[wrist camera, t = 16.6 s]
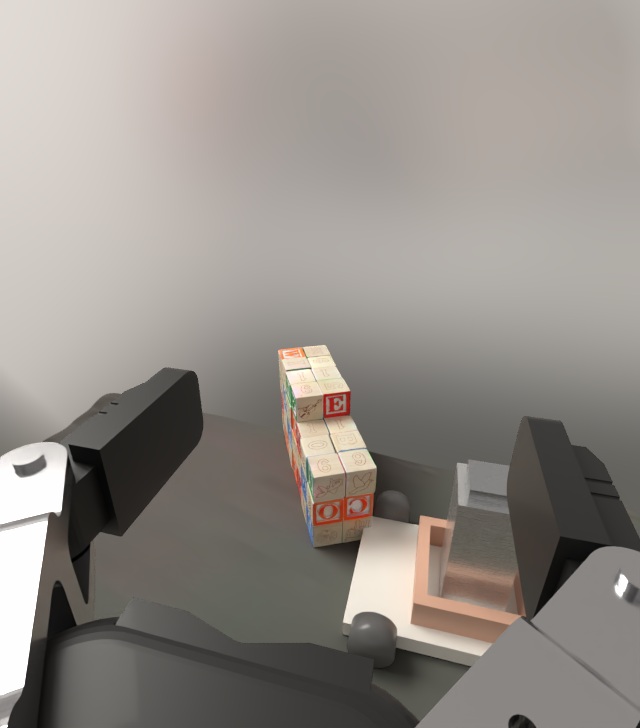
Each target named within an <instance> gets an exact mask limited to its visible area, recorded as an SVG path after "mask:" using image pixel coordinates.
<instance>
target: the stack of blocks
mask: <svg viewBox="0 0 640 728" xmlns="http://www.w3.org/2000/svg"><path fill="white" fill-rule="evenodd" d="M278 355H279V368H280V388H281V393H282V394H281V395H282V409H283V410H282V420H283V429H284V433H285V439H286V444H287V448H288V453H289V457H290V461H291V465H292V469H294V474H295V478H296V482H297V485H298V487H299V492H300V496H301V501H302V508H303V512H304V516H305V520H306V524H307V527H308V531H309V535H310V539H311V542H312V546H313V548H315V547H321V546H326V545H332V544H338V543H345V542H351V541H356V540H361V538H362V534H363V529H364V528H368V527H371V521H372V514H373V500H374V492H375V488H376V474H377V467H376V465H375V463H374V461H373V459H372V457H371V455H370V453H369V452H368V450H367V447H366V445H365V443H364V441H363V439H362V437H361V435H360V433H359V431H358V429H357V427H356V425H355V423H354V421H353V420H352V418H351V417H350V390H349V388H348V386H347V384H346V382H345V381H344V379H343V378H342V377H341V375H340V373H339V371H338V370H337V368H336V365H335V363H334V361H333V359H332V357H331V356H330V353H329V351H328V349H327V348H326V346H325V345H321V346H310V347H303V348H291V349H282V350H278Z"/></svg>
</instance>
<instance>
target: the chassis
mask: <svg viewBox="0 0 640 728" xmlns="http://www.w3.org/2000/svg"><path fill="white" fill-rule="evenodd" d="M410 506H411V505H410V501H409V499H408V498H407V497H406V496H405V495H404V494H402V493H400V492H397V491H392V490H389V491H384V492H382V493H380V494H379V495H378V497H377V499H376V504H375V509H374V514H373V516H374V517H373V516H372V521H371V527H368V528H364V529H363V534H362V538H361V543H360V547H359V552H358V556H357V561H356V566H355V570H354V575H353V579H352V584H351V588H350V593H349V597H348V602H347V607H346V611H345V616H344V620H343V633H342V634H344V635H348V636H349V638H348V643H347V650H348V653H350V654H354V655H358V656H362V657H366V658H369V659H373V660H374V664H373V668H384V667H387V666H389V665H391V664H392V663H393V662H394V659H395V650H396V648H400V649H404V650H408V651H412V652H416V653H420V654H424V655H428V656H432V657H436V658H440V659H444V660H448V661H452V662H456V663H460V664H464V665H468V666H473V665H474V663H475V662H476V661H477V660H478V659H479V658H480V657H481V656H482V655H483V654H484V653H485V652H486V651H487V649H488V648H489V647H490V646H491V645H492V644H493V643H494V642H495V641H496V640H497V639H498V638H499V637H500V635H501V634H502V633H503V632H504V631H505V630H506V629H507V628H508V627H509V626H510V625H511V624H512V623H513V622H514V621H515V620H516V619H518V618H519V617H521V616H525V617H526V614H525V607H524V601H523V595H522V589H521V583H520V576H519V570H518V568H517V572H516V575H515V578H514V582H513V585H512V589H511V592H510V596H509V599H508V603H507V606H506V610H505V612H503V611H498V610H494V609H489V608H485V607H480V606H476V605H471V604H467V603H462V602H458V601H453V600H449V599H444V598H440V597H439V596H440V556H441V551H442V545H443V539H444V534H445V528H446V523H447V520H442V519H437V518H432V517H426V516H421V515H420V521H419V525H415V524H410V523H409V516H410Z"/></svg>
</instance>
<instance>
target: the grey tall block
mask: <svg viewBox="0 0 640 728" xmlns="http://www.w3.org/2000/svg"><path fill="white" fill-rule="evenodd" d="M509 467H510V466H507V465H500V464H494V463H487V462H481V461H475V460H468V464H462V463H457V467H456V473H455V478H454V484H453V489H452V495H451V500H450V506H449V512H448V517H447V523H446V528H445V534H444V539H443V545H442V551H441V556H440V596H439V597H440V598H444V599H449V600H453V601H458V602H462V603H467V604H471V605H476V606H480V607H485V608H489V609H494V610H498V611H503V612H505V610H506V606H507V603H508V599H509V596H510V592H511V589H512V585H513V582H514V578H515V575H516V572H517V568H518V564H517V558H516V552H515V545H514V539H513V533H512V527H511V521H510V514H509V508H508V502H507V478H508V472H509Z"/></svg>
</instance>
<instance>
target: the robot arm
mask: <svg viewBox="0 0 640 728" xmlns="http://www.w3.org/2000/svg"><path fill="white" fill-rule="evenodd" d="M202 431H203V416H202V408H201V400H200V391H199V384H198V378H197V375H196V373H195V372H194V371H189V370H182V369H174V368H163V369H162V370H161V371H159V372H158V373H157V374H155V375H154V376H153V377H152V378H150V379H149V380H148V381H147V382H145V383H143V384H140V385H138V386H136V387H134V388H132V389H129V390H127V391H125V392H124V393H122V394H121V395H120V396H118V397H117V398H116V399H114V400H113V401H112V402H111V404H110V405H109V404H108V405H107V406H105V407H104V408H103V409H102V410H100V411H99V414H95V415H94V416H93V417H91V418H90V419H89V420H87V421H86V422H85V423H84V424H82V425H81V426H80V427H78V428H77V429H76V430H75V431H73V432H72V433H71V434H69V435H68V436H67V437H66V438H64V439H63V440H62V441H60V442H59V443H53V442H40V443H34V444H29V445H26V446H23V447H19V448H17V449H14V450H12V451H10V452H8V453H6V454H5V455H3V456H2V457H0V728H640V538H639V536H638V534H637V532H636V530H635V528H634V526H633V524H632V522H631V520H630V517H629V515H628V513H627V511H626V509H625V507H624V505H623V503H622V501H620V500H619V495H618V492H617V490H616V489H615V486H614V485H612V480H611V478H610V476H609V474H608V471H607V469H606V467H605V465H604V464H603V463H602V462H601V461H600V460H599V459H598V458H597V457H596V456H595V455H594V454H593V453H592V452H590V451H589V450H588V449H587V448H586V447H581V446H574V445H571V443H570V441H569V438H568V436H567V433H566V431H565V428H564V426H563V423H562V422H561V421H558V420H551V419H543V418H535V417H528V416H524V417H523V418H522V420H521V423H520V427H519V431H518V435H517V439H516V443H515V447H514V451H513V455H512V459H511V463H510V467H509V472H508V478H507V502H508V508H509V514H510V521H511V527H512V533H513V539H514V545H515V552H516V558H517V564H518V570H519V576H520V583H521V589H522V595H523V601H524V607H525V614H526V617H525V616H521V617H519V618H518V619H516V620H515V621H514V622H513V623H512V624H511V625H510V626H509V627H508V628H507V629H506V630H505V631H504V632H503V633H502V634H501V635H500V637H499V638H498V639H497V640H496V641H495V642H494V643H493V644H492V645H491V646H490V647H489V648H488V649H487V651H486V652H485V653H484V654H483V655H482V656H481V657H480V658H479V659H478V660H477V661H476V662H475V663H474V665H473V666H472V667H471V668H470V669H469V670H468V671H467V672H466V673H465V674H464V675H463V676H462V677H461V679H460V680H459V681H458V682H457V683H456V684H455V685H454V686H453V687H452V688H451V689H450V690H449V691H448V693H447V694H446V695H445V696H444V697H443V698H442V699H441V700H440V701H439V702H438V703H437V704H436V705H435V707H434V708H433V709H432V710H431V711H430V712H429V713H428V714H427V715H426V716H425V717H424V718H423V719H422V721H421V722H419V720H418V719H417V718H416V717H415V716H414V715H413V714H412V713H411V712H410V711H409V710H408V709H407V708H406V707H405V706H404V705H403V704H402V703H401V702H400V701H399V700H397V699H396V698H395V697H393V696H392V695H391V694H389V693H388V692H387V691H385V690H384V689H382V688H380V687H379V686H377V685H375V684H374V683H372V674H373V664H374V660H373V659H369V658H366V657H362V656H358V655H354V654H350V653H346V652H342V651H339V650H335V649H331V648H327V647H323V646H319V645H315V644H312V643H240V642H237V641H235V640H233V639H231V638H230V637H228V636H227V635H225V634H223V633H222V632H220V631H219V630H217V629H215V628H214V627H212V626H210V625H209V624H207V623H206V622H204V621H202V620H201V619H199V618H197V617H196V616H194V615H193V614H191V613H189V612H188V611H184V610H180V609H177V608H173V607H169V606H165V605H161V604H157V603H153V602H150V601H146V600H142V599H138V598H134V597H133V599H132V600H131V602H130V603H129V605H128V606H127V607H126V609H125V610H124V612H123V613H122V615H121V616H120V617H113V618H105V619H99V620H95V621H94V603H95V545H94V542H93V539H94V538H95V537H96V536H97V535H98V533H99V532H103V533H108V534H112V535H116V536H122V535H123V534H124V533H125V532H126V530H127V529H128V528H129V527H130V526H131V524H132V523H133V522H134V521H135V520H136V518H137V517H138V516H139V515H140V513H141V512H142V511H143V510H144V509H145V507H146V506H147V505H148V504H149V503H150V501H151V500H152V499H153V498H154V496H155V495H156V494H157V493H158V492H159V490H160V489H161V488H162V487H163V486H164V484H165V483H166V482H167V481H168V480H169V478H170V477H171V476H172V475H173V473H174V472H175V471H176V470H177V469H178V467H179V466H180V465H181V464H182V463H183V461H184V460H185V459H186V458H187V457H188V455H189V454H190V453H191V452H192V450H193V449H194V448H195V447H196V446H197V444H198V442H199V441H200V438H201V435H202Z"/></svg>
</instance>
